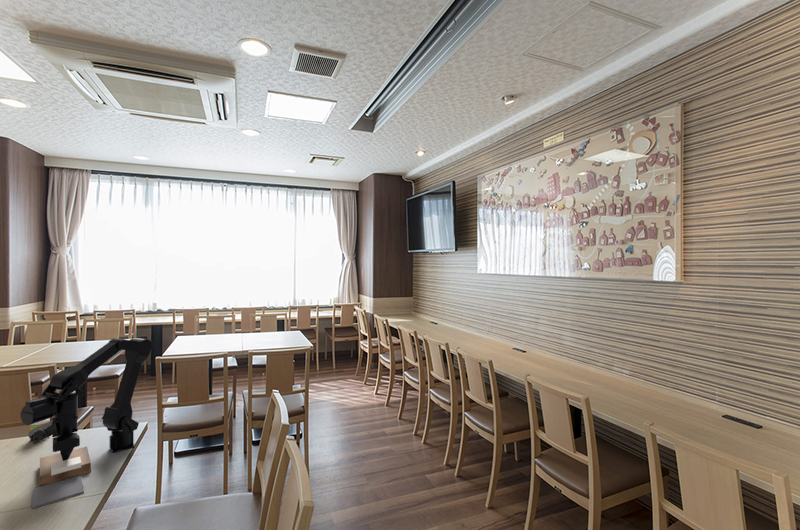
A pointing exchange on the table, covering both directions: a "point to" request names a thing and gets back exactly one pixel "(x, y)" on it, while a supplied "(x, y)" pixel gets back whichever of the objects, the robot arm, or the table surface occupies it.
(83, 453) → the serving board
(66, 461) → the white rectangular block
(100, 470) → the table surface
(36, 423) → the supplement bottle
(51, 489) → the mat
